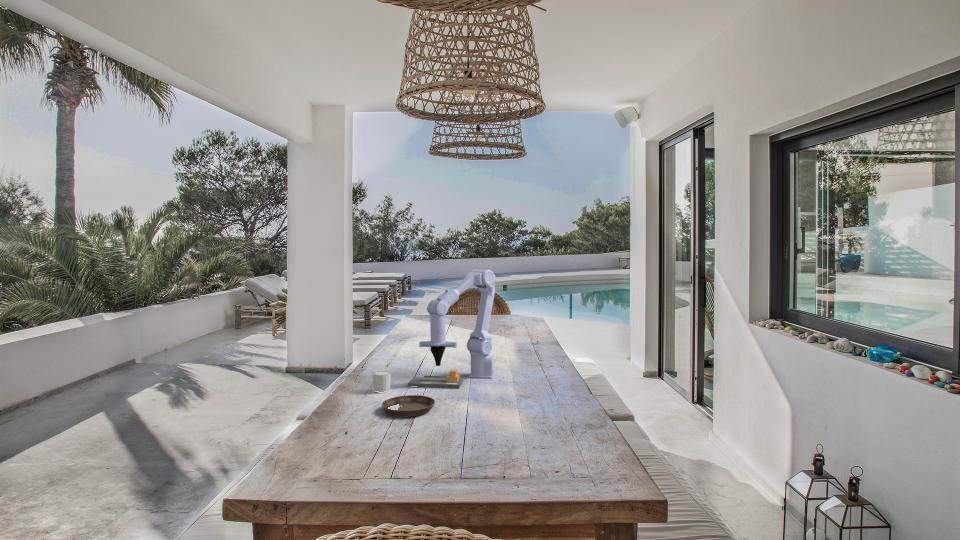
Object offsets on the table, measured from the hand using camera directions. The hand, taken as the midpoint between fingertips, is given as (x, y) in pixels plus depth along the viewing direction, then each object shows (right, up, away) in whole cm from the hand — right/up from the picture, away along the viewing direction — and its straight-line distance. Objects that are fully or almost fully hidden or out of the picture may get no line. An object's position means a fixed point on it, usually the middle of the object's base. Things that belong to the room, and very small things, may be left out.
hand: (438, 365), depth 229 cm
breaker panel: (-1, -8, +1) cm, 8 cm away
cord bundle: (-1, -7, +10) cm, 12 cm away
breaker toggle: (+6, -6, -1) cm, 8 cm away
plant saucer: (-8, -10, -33) cm, 35 cm away
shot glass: (-21, -9, -9) cm, 24 cm away
